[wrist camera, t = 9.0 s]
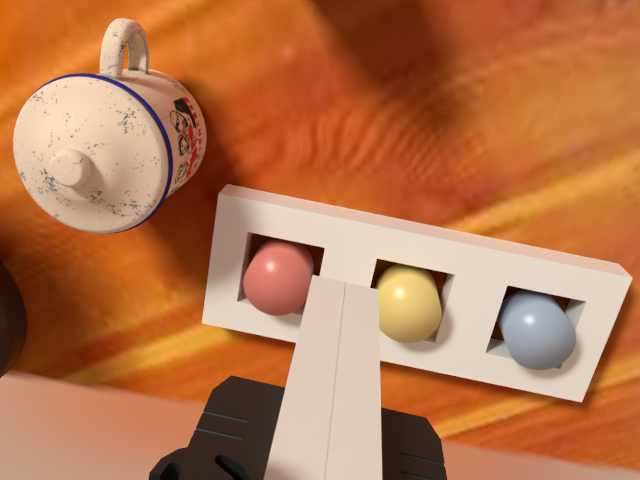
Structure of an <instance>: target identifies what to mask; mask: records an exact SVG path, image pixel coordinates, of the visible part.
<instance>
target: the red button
mask: <svg viewBox="0 0 640 480" xmlns="http://www.w3.org/2000/svg"><path fill="white" fill-rule="evenodd" d="M313 270H314V263H313V259H312V256H311V254H310V252H309V251H308V249H307V248H306V247H305V246H304V245H303V244H301V243H299V242H294V241H289V240H284V239H280V238H273V239H270V240H268V241H266V242H265V243H263V244H262V245H261V246H260V247H259V249H258V250H257V252H256V254H255V256H254V258H253V259H252V261H251V263H250V265H249V267H248V269H247V271H246V273H245V276H244V281H243V287H244V292H245V295H246V297H247V299H248V300H249V302H250V303H251V304H252V305H253V306H254V307H255V308H256V309H258V310H259V311H261V312H263V313H265V314H269V315H274V316H283V315H287V314H290V313H293V312H295V311H296V310H298V309H299V308H300V307H301V306H302V305H303V303H304V302H305V300H306V298H307V295H308V291H309V287H310V283H311V279H312V275H313Z"/></svg>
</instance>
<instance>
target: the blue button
mask: <svg viewBox="0 0 640 480" xmlns="http://www.w3.org/2000/svg"><path fill="white" fill-rule="evenodd" d="M497 322H498V326H499V328H500V331H501V333H502V336H503V338H504V340H505V343H506V345H507V348H508V350H509V353H510V355H511V357H512V358H513V359H514V360H515V361H516V362H517V363H518V364H520V365H521V366H523V367H525V368H528V369H532V370H546V369H551V368H554V367H556V366H558V365H560V364H562V363H563V362H564V361H565V360H567V359H568V357H569V356H570V355H571V354H572V352H573V350H574V348H575V344H576V333H575V330H574V328H573V326H572V324H571V323H570V321H569V320H568V318H567V316H566V315H565V313H564V312H563V310H562V309H561V307H560V306H559V304H558V303H557V301H556V300H555V298H554V297H553V296H551V295H550V294H547V293H543V292H538V291H533V290H528V289H522V290H519V291H516V292H514V293H512V294H511V295H509V296H508V297H507V298H506V299H505V300H504V301H503V302H502V304H501V307H500V310H499V313H498V316H497Z"/></svg>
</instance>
